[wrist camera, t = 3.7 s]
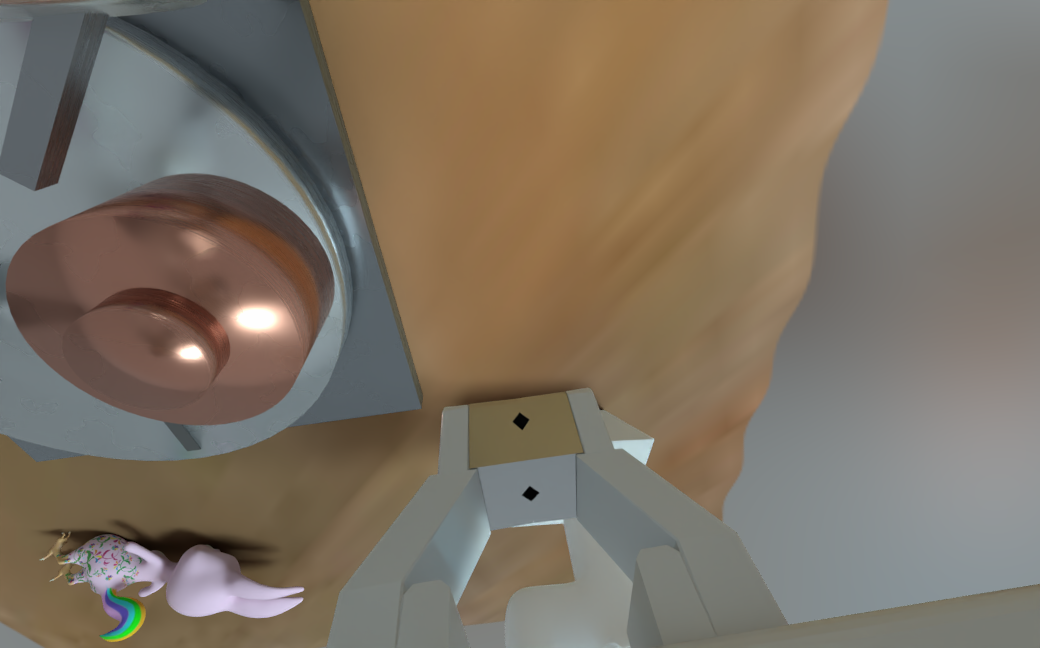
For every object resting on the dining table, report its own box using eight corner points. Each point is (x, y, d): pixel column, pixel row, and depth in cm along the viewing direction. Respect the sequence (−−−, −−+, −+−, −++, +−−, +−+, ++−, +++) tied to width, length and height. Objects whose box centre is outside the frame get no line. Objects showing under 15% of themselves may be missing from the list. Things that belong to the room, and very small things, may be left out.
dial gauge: (110, -59, 12) (-929, -354, 3) (309, -76, 12) (-114, -395, 3) (199, 131, 15) (-208, 267, 6) (360, 114, 15) (207, 219, 6)
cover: (63, 186, 13) (-133, 257, 9) (292, 161, 13) (211, 217, 9) (183, 361, 17) (87, 470, 13) (358, 339, 17) (323, 437, 13)
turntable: (-454, 3, 11) (-1444, -38, 5) (241, -58, 12) (33, -152, 6) (38, 450, 21) (-122, 604, 15) (397, 401, 22) (373, 529, 16)
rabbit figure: (101, 547, 30) (312, 591, 32) (11, 644, 25) (268, 690, 27) (81, 494, 27) (317, 545, 29) (-27, 592, 22) (268, 648, 24)
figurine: (625, 468, 29) (743, 779, 17) (490, 476, 28) (510, 815, 16) (649, 391, 25) (824, 722, 13) (492, 396, 24) (521, 765, 12)
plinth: (-459, -35, 12) (-529, -41, 11) (279, -97, 13) (267, -107, 12) (52, 446, 23) (36, 461, 22) (422, 395, 24) (421, 408, 23)
